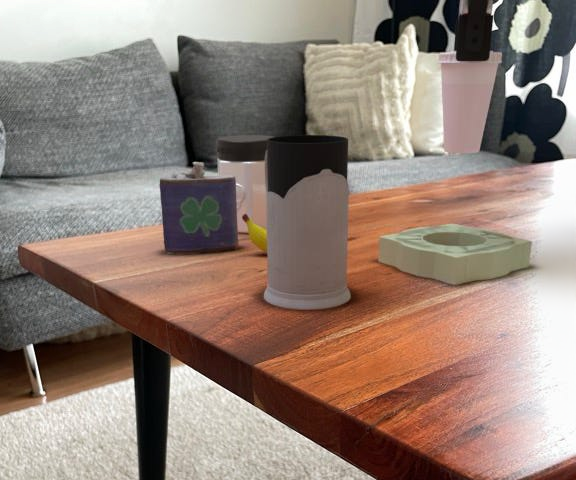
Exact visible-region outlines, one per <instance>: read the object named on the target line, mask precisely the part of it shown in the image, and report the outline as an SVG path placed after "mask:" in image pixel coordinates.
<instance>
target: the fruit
mask: <svg viewBox="0 0 576 480" xmlns="http://www.w3.org/2000/svg"><path fill="white" fill-rule="evenodd" d="M242 219H243V220H244V221H245V222H246V224H247V226H248V232H249V233H248V237H249V239H250V241H251V243H252V244H253V245H254V246H255V247H256V248H258V249H259V250H261V251H262V252H265V253H267V230H265V229H263V228H262V227H260V226H258V225H256V224H254V223H253V222H252V221H251V220H250V219H249V217H248V216H247V214H244V215H243V216H242Z"/></svg>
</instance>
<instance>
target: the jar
mask: <svg viewBox="0 0 576 480" xmlns="http://www.w3.org/2000/svg"><path fill="white" fill-rule="evenodd" d="M272 137H274V136H272V135H264V134H263V135H262V134H238V135H226V136H225V135H224V136H220V137H217V138H216V161H217V175H233V176H235V178H236V179H235V180H236V202H237V226H238V234H249V232H248V226H247V224H246V222H245V221H244V220H243V219H242V216H243V215H244V214H247V216H248V217H249V219H250V220H251V221H252V222H253V223H254V224H256V225H258V226H260V227H262V228H263V229H265V230H267V214H266V186H265V170H264V166H265V155H266V151H267V139H268V138H272Z"/></svg>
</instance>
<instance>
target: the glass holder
mask: <svg viewBox="0 0 576 480" xmlns="http://www.w3.org/2000/svg"><path fill="white" fill-rule="evenodd" d="M348 165H349V138H348V137H344V136H339V135H324V134H295V135H294V134H293V135H280V136H273V137H272V138H268V139H267V151H266V155H265V166H264V170H265V186H266V214H267V252H266V253H267V254H266V255H267V256H266V257H267V258H266V260H267V285H266V288H265V290H264V293H263V299H264V301H266V302H267V303H269V304H271V305H273V306H276V307H278V308H279V307H280V308H283V309H289V310H290V309H291V310H302V311H304V310H305V311H306V310H307V311H310V310H312V311H314V310H324V309H325V310H326V309H331V308H335V307H339V306H341V305H344V304H346V303H347V302H349V301H350V300H351V297H352V296H351V291H350V289H349V288H348V283H347V280H348V279H347V275H348V244H349V243H348V242H349V240H348V239H349V203H350V202H349V200H350V189H349V183H348V172H349V171H348V170H349V169H348V167H349V166H348Z"/></svg>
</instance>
